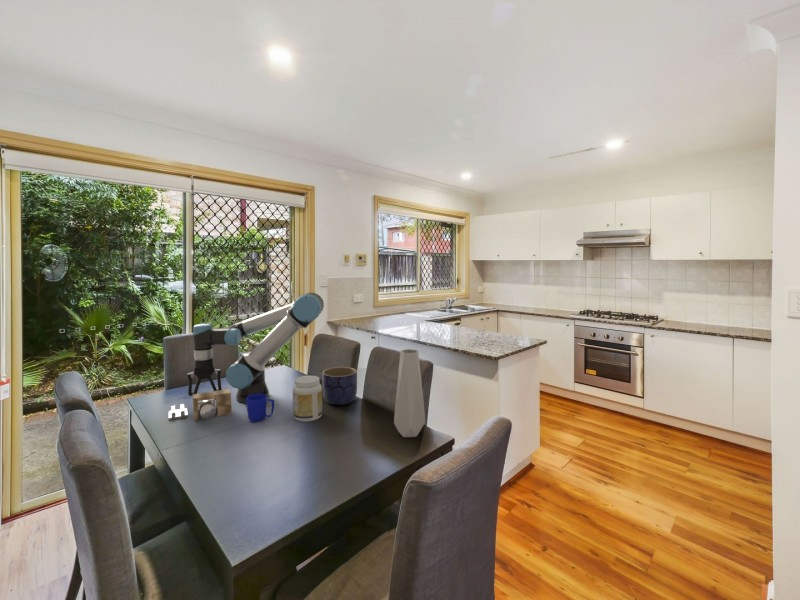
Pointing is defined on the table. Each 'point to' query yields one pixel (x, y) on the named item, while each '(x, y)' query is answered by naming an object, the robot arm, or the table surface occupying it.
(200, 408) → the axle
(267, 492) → the table surface
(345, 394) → the planter
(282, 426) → the table surface
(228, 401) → the wooden block with opening
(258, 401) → the mug
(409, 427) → the vase
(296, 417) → the supplement tub
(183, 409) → the v block
